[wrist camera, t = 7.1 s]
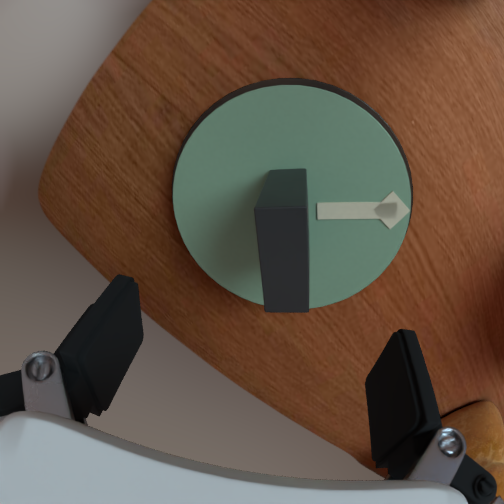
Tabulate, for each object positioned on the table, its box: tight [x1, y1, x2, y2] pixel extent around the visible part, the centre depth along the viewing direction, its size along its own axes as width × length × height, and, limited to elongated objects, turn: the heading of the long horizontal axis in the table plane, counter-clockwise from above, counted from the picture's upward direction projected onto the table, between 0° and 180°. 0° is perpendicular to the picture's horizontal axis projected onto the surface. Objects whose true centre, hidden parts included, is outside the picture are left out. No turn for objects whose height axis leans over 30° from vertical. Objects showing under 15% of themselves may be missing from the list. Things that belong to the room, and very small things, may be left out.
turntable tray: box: [173, 85, 411, 312], centre depth 19 cm, size 17×17×8 cm
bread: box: [441, 401, 504, 501], centre depth 30 cm, size 16×26×17 cm, turn 43°
